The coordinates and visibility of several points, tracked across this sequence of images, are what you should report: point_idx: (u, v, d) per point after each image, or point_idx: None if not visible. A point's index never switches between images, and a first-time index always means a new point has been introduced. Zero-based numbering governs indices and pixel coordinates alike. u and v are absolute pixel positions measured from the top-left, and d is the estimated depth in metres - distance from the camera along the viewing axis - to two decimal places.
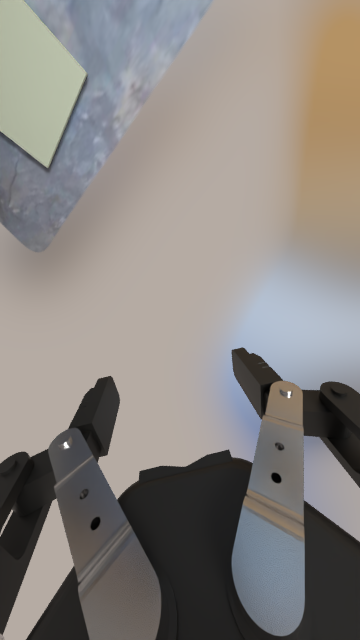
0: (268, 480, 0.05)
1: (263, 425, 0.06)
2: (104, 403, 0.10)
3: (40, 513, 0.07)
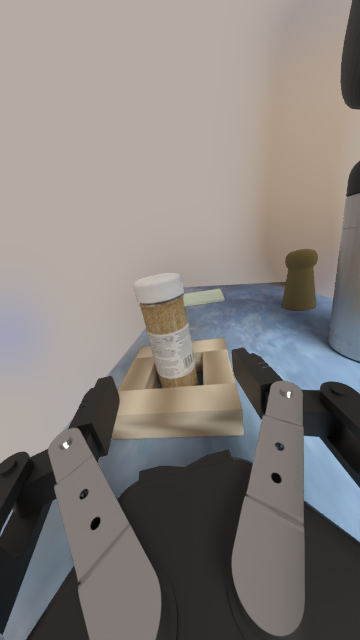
0: (268, 480, 0.05)
1: (263, 425, 0.06)
2: (104, 403, 0.10)
3: (40, 513, 0.07)
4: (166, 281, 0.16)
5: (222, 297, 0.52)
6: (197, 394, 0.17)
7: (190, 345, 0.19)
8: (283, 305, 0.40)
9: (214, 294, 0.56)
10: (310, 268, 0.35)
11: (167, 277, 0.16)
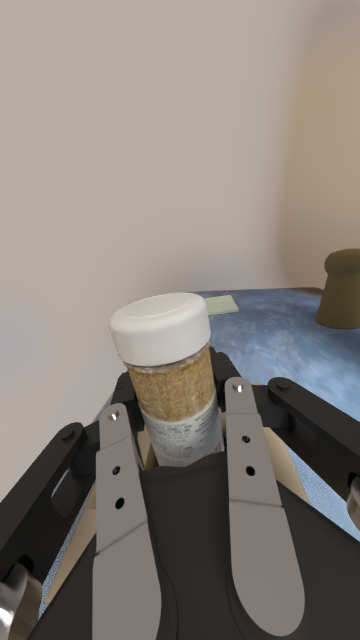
0: (268, 480, 0.05)
1: (228, 423, 0.07)
2: None
3: (87, 481, 0.08)
4: (179, 321, 0.07)
5: (235, 306, 0.43)
6: None
7: (219, 425, 0.11)
8: (319, 320, 0.31)
9: (224, 302, 0.47)
10: None
11: (181, 310, 0.07)
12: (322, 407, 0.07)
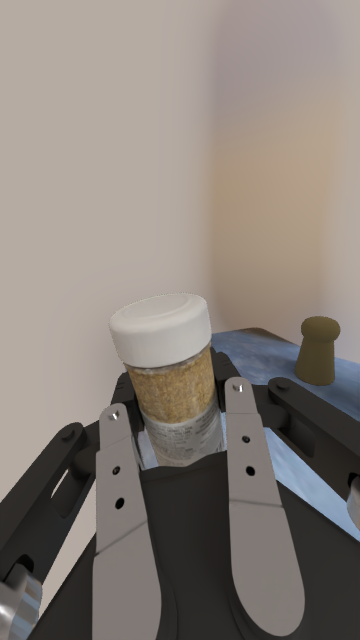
0: (268, 480, 0.05)
1: (228, 423, 0.07)
2: None
3: (87, 481, 0.08)
4: (179, 322, 0.07)
5: None
6: None
7: (220, 426, 0.10)
8: (303, 378, 0.34)
9: None
10: None
11: (181, 311, 0.07)
12: (322, 407, 0.07)
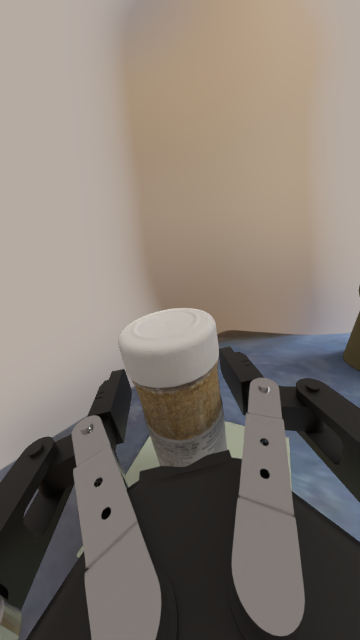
0: (268, 480, 0.05)
1: (247, 423, 0.06)
2: (119, 394, 0.11)
3: (61, 497, 0.08)
4: (190, 345, 0.07)
5: None
6: None
7: (224, 439, 0.11)
8: None
9: None
10: None
11: (191, 332, 0.07)
12: (355, 415, 0.07)
